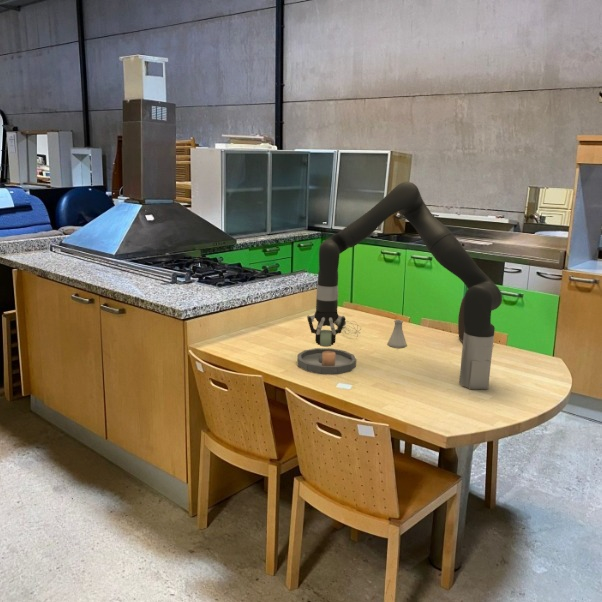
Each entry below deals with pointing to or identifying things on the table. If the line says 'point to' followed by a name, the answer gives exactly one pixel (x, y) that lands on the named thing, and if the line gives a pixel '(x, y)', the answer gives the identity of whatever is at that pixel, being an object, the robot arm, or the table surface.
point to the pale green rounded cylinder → (325, 338)
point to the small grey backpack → (461, 322)
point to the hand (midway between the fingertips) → (325, 343)
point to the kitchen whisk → (349, 326)
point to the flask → (397, 336)
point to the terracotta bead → (328, 358)
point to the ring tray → (313, 361)
